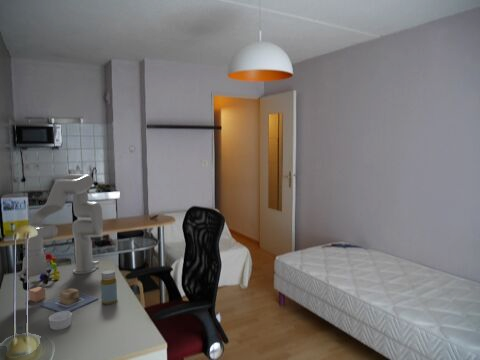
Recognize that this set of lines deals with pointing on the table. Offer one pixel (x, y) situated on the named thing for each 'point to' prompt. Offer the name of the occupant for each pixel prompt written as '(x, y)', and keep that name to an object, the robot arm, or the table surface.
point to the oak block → (69, 296)
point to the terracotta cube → (37, 294)
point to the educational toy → (56, 272)
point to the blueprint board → (59, 306)
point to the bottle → (108, 287)
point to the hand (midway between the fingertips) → (35, 286)
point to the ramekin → (60, 320)
